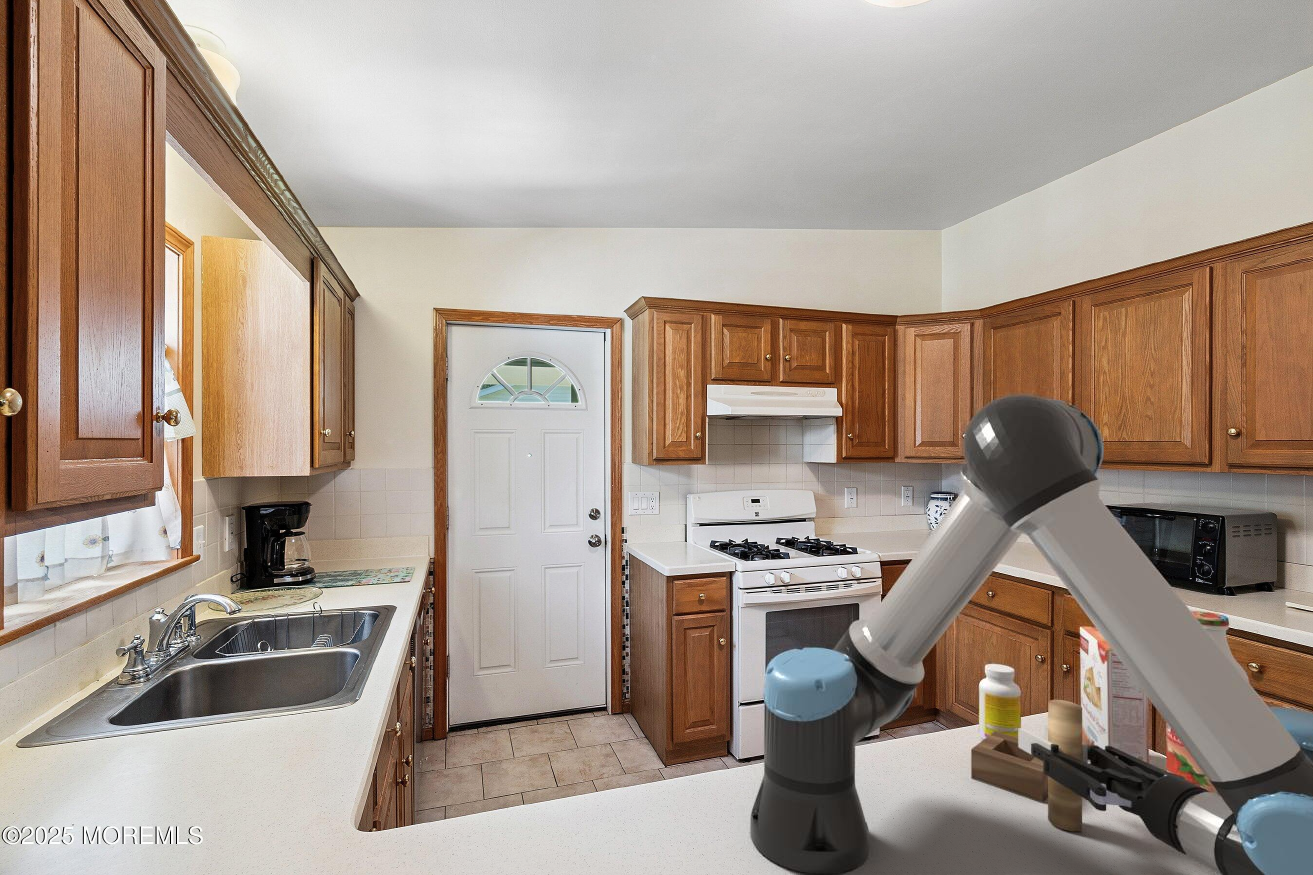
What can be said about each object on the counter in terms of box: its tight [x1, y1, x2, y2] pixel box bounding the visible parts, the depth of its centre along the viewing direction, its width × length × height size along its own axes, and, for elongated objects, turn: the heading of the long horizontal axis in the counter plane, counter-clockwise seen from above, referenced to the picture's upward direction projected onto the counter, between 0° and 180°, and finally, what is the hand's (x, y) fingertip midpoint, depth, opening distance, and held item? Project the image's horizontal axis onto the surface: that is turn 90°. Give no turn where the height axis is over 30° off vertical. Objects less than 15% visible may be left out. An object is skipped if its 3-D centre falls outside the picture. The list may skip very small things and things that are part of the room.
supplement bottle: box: [978, 663, 1022, 741], centre depth 118 cm, size 7×7×13 cm
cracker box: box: [1079, 625, 1150, 764], centre depth 110 cm, size 14×6×21 cm, turn 162°
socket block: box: [970, 731, 1048, 804], centre depth 104 cm, size 10×10×4 cm
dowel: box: [1047, 699, 1083, 832], centre depth 92 cm, size 4×4×16 cm
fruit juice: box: [1165, 610, 1250, 796], centre depth 96 cm, size 9×9×28 cm
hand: (1034, 736), depth 97 cm, fingers closed on dowel, 4 cm apart
